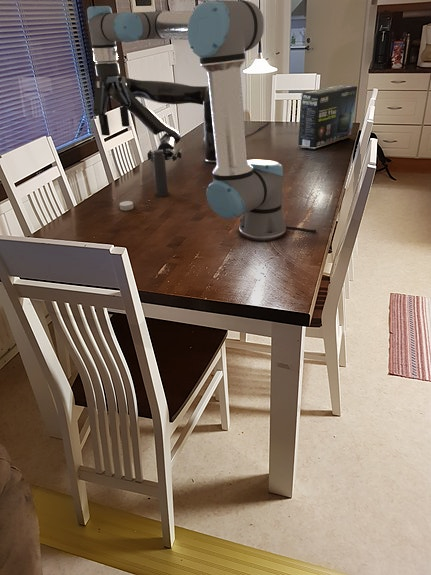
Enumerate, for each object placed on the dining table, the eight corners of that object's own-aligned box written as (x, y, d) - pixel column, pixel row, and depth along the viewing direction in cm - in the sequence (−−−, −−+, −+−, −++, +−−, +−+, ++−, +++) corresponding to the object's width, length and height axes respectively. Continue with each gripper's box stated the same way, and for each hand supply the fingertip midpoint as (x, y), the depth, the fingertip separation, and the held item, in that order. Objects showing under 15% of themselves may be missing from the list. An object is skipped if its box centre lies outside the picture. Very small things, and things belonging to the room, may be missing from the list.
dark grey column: (166, 196, 182) (162, 152, 173) (155, 196, 183) (150, 152, 174) (169, 192, 186) (165, 149, 177) (158, 192, 187) (153, 149, 178)
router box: (314, 151, 231) (318, 94, 217) (296, 148, 237) (299, 92, 224) (352, 138, 251) (358, 85, 238) (335, 135, 258) (340, 83, 245)
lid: (117, 207, 173) (117, 202, 172) (130, 204, 176) (129, 199, 175) (123, 211, 170) (122, 206, 169) (135, 208, 172) (135, 203, 171)
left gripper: (149, 141, 201) (144, 150, 187) (181, 139, 201) (179, 149, 187) (151, 158, 205) (147, 169, 191) (183, 156, 205) (181, 167, 191)
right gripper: (95, 66, 136) (106, 139, 147) (135, 58, 156) (142, 123, 167) (74, 66, 138) (86, 138, 149) (116, 58, 158) (124, 122, 169)
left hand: (163, 159), depth 189 cm, fingers open, 8 cm apart
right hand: (116, 130), depth 158 cm, fingers open, 13 cm apart
